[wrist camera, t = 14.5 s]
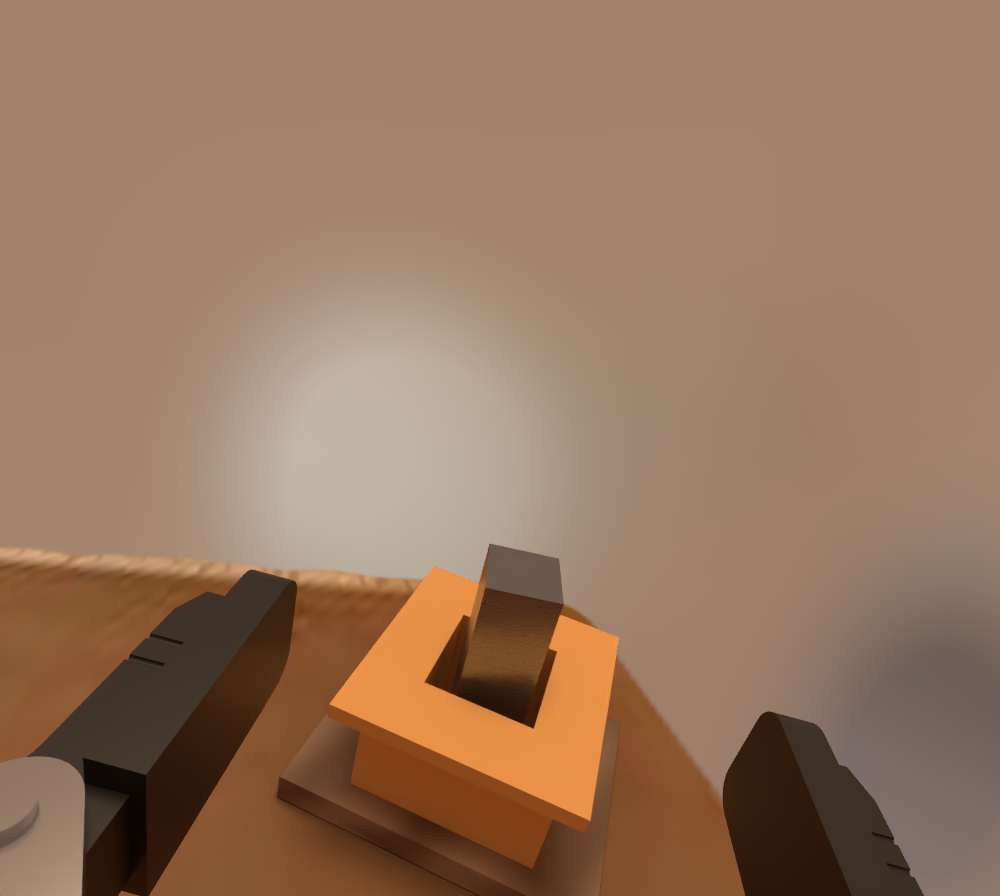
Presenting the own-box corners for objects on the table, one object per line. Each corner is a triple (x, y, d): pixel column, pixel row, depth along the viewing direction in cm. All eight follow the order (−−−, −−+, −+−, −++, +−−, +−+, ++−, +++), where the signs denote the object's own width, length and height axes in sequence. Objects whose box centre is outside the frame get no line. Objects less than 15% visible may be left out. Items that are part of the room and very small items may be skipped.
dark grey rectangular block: (436, 769, 30) (485, 587, 26) (444, 714, 34) (489, 543, 29) (502, 782, 31) (563, 604, 26) (504, 725, 34) (558, 558, 29)
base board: (277, 796, 29) (279, 776, 28) (387, 645, 40) (390, 628, 39) (585, 947, 26) (594, 928, 25) (613, 739, 37) (620, 722, 36)
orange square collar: (315, 793, 28) (329, 704, 26) (417, 639, 39) (434, 566, 36) (551, 907, 26) (590, 821, 23) (589, 710, 37) (619, 637, 34)
